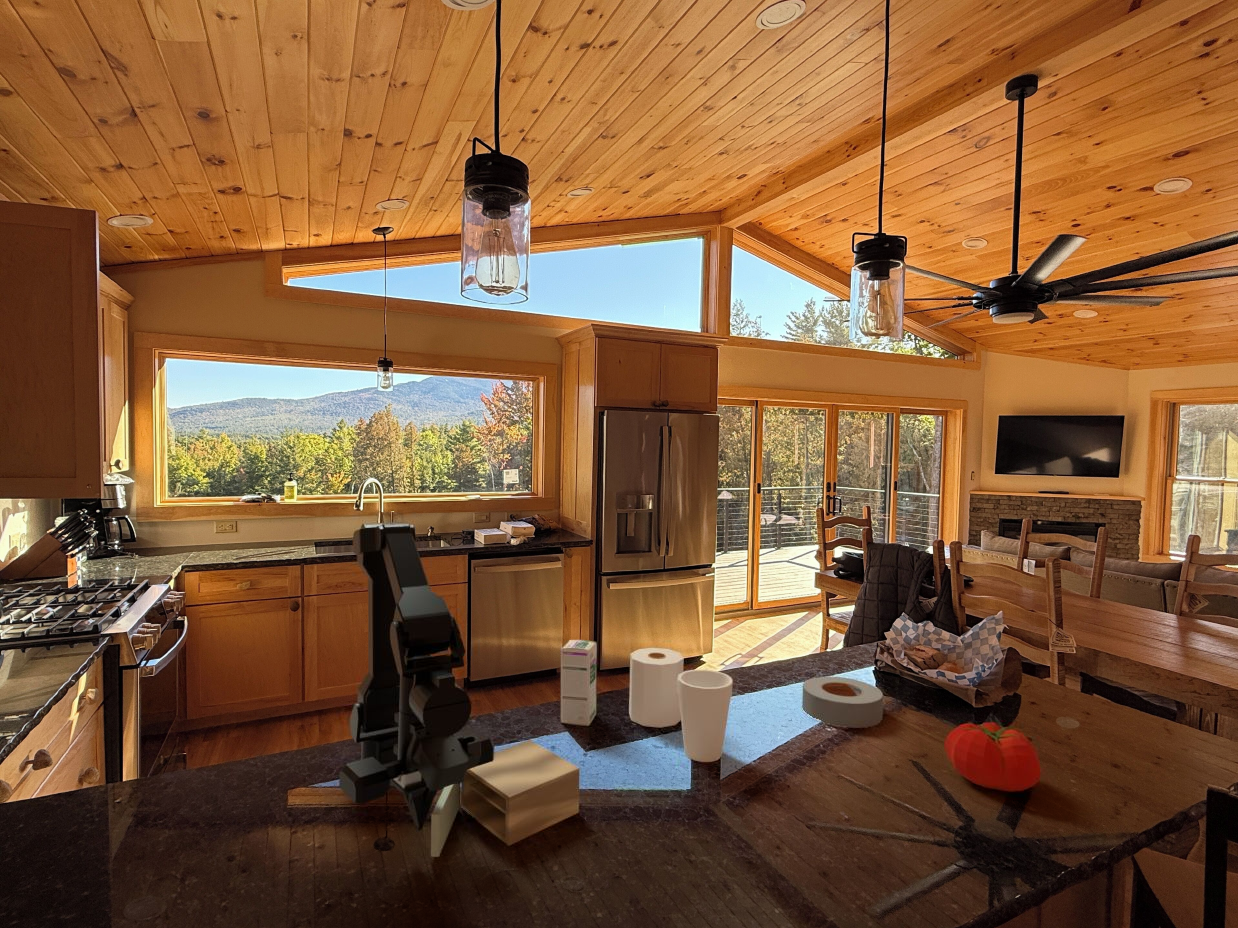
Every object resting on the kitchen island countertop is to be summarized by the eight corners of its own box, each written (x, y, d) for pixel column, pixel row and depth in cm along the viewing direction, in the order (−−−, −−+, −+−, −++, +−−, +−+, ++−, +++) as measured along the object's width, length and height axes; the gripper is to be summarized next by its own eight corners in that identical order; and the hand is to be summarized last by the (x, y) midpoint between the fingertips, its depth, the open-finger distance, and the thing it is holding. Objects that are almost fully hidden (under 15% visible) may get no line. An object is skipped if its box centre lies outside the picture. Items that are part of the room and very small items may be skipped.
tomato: (1051, 782, 108) (1053, 728, 108) (1033, 813, 99) (1035, 754, 99) (958, 754, 118) (960, 704, 118) (934, 779, 109) (936, 725, 108)
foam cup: (668, 759, 113) (670, 683, 113) (684, 737, 122) (685, 666, 122) (723, 770, 110) (726, 692, 109) (736, 747, 118) (738, 674, 118)
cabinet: (461, 808, 97) (461, 763, 97) (529, 780, 105) (529, 739, 105) (508, 845, 88) (509, 796, 88) (578, 812, 97) (579, 767, 96)
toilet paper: (618, 718, 130) (620, 656, 129) (647, 702, 138) (649, 643, 138) (663, 732, 124) (665, 667, 123) (691, 714, 132) (692, 653, 132)
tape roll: (790, 699, 142) (791, 675, 142) (860, 698, 143) (860, 674, 143) (820, 730, 127) (821, 704, 126) (897, 729, 128) (898, 702, 128)
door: (453, 804, 97) (453, 766, 97) (460, 804, 97) (461, 766, 97) (430, 857, 85) (431, 813, 85) (438, 857, 85) (439, 813, 85)
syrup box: (589, 726, 126) (591, 649, 125) (559, 723, 127) (560, 647, 126) (596, 714, 131) (598, 640, 131) (567, 711, 133) (568, 638, 132)
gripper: (377, 748, 74) (373, 889, 74) (519, 709, 86) (515, 830, 87) (339, 717, 82) (335, 844, 82) (474, 686, 95) (471, 796, 95)
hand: (419, 828), depth 86 cm, fingers closed
